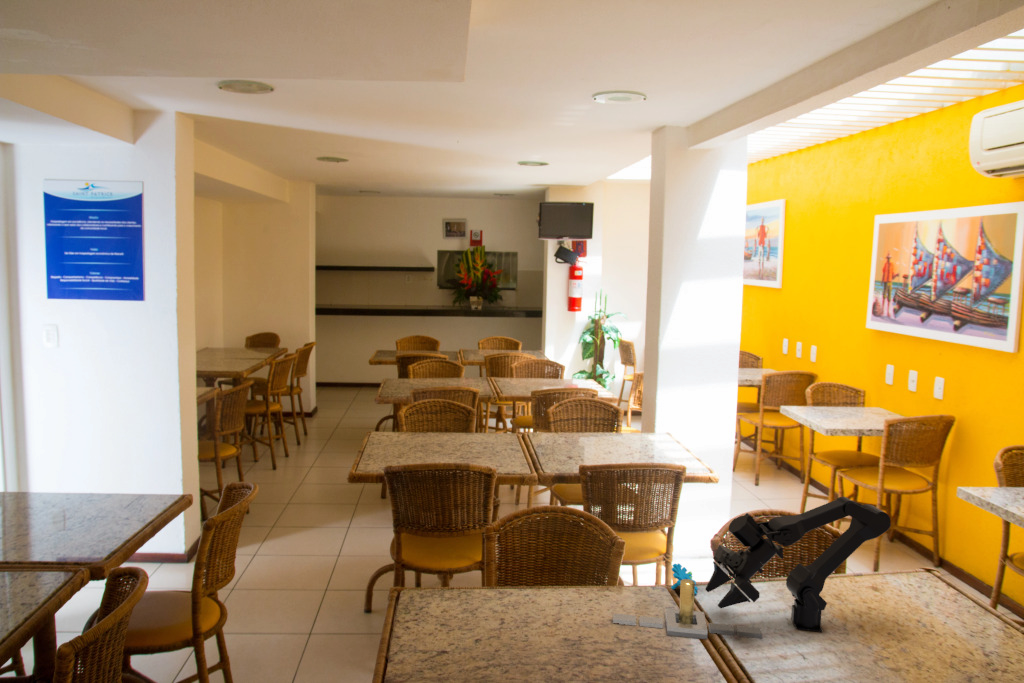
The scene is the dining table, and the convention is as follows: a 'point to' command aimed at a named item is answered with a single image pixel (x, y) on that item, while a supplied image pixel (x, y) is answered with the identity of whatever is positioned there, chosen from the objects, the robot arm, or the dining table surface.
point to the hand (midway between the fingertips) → (712, 598)
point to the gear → (681, 576)
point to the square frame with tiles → (687, 625)
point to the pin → (686, 601)
